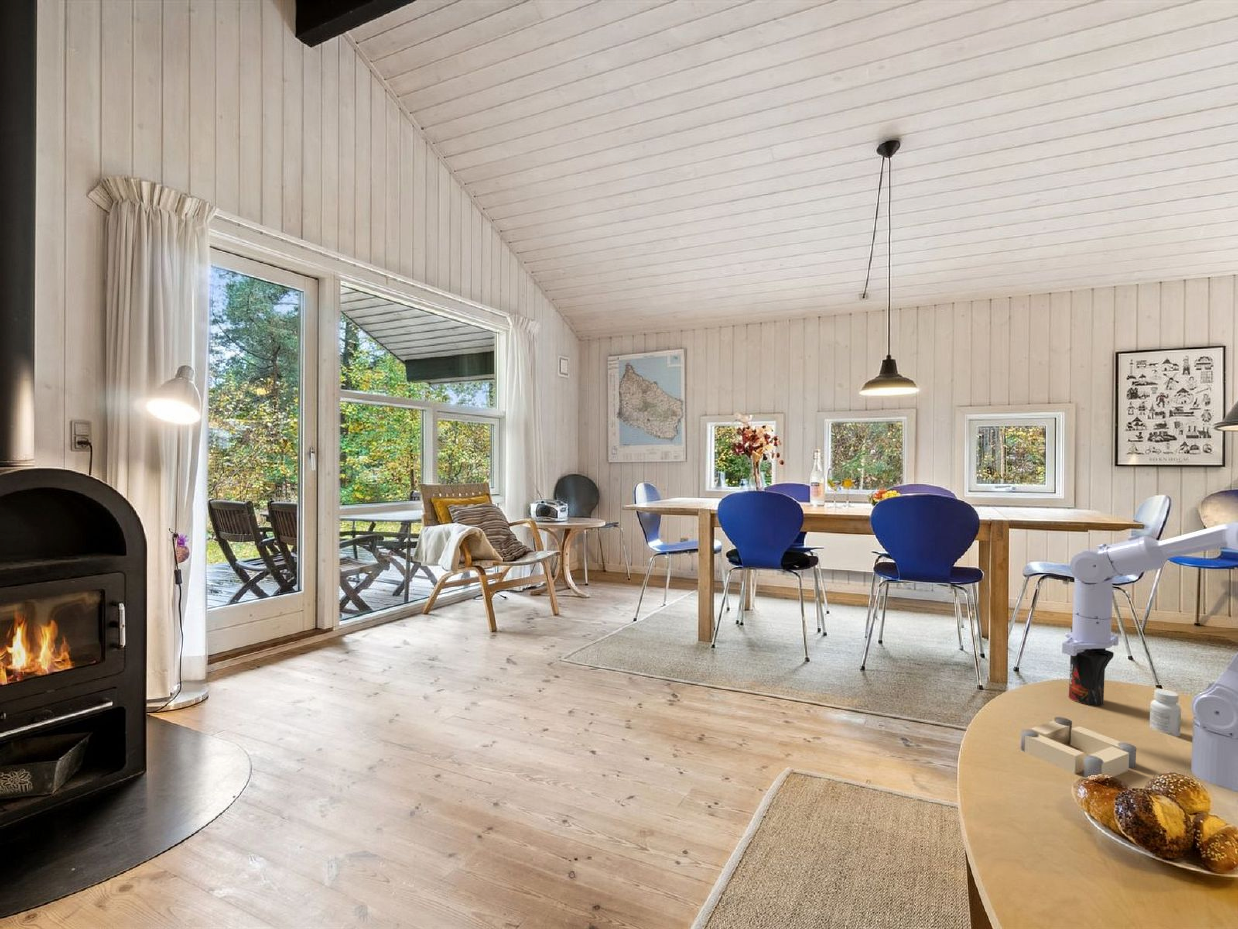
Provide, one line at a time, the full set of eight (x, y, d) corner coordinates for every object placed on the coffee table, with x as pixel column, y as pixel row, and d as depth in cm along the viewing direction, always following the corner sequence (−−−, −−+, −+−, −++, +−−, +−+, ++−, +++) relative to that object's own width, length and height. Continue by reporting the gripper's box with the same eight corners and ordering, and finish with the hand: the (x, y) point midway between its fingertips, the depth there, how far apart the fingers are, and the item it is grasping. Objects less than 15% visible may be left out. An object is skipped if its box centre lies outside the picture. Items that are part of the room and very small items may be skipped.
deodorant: (1110, 706, 131) (1113, 634, 131) (1081, 705, 131) (1084, 634, 131) (1090, 694, 137) (1092, 626, 137) (1062, 694, 137) (1064, 626, 137)
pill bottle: (1168, 728, 121) (1169, 688, 121) (1186, 738, 117) (1188, 697, 117) (1143, 726, 122) (1145, 687, 122) (1160, 737, 118) (1162, 696, 117)
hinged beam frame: (1141, 770, 105) (1142, 748, 105) (1097, 788, 100) (1098, 765, 100) (1058, 737, 117) (1059, 717, 117) (1015, 752, 111) (1015, 730, 111)
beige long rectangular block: (1058, 734, 117) (1059, 716, 117) (1074, 740, 115) (1075, 721, 114) (1029, 745, 112) (1030, 726, 112) (1045, 751, 110) (1045, 732, 110)
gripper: (1090, 605, 123) (1087, 674, 123) (1045, 614, 116) (1042, 686, 117) (1132, 614, 116) (1129, 687, 117) (1087, 624, 110) (1084, 701, 111)
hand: (1089, 688), depth 116 cm, fingers closed
